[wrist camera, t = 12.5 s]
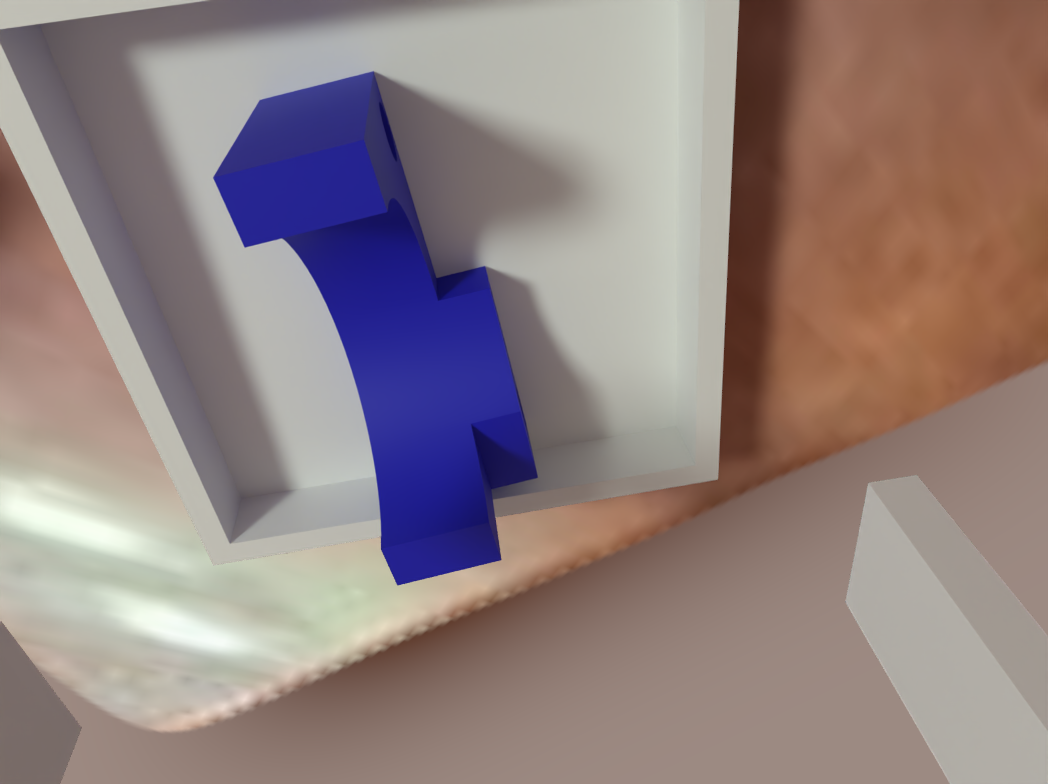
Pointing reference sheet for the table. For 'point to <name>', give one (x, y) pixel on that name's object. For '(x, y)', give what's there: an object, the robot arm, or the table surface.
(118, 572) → the table surface
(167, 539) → the table surface
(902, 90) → the table surface
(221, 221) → the kit tray
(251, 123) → the blue curved block
